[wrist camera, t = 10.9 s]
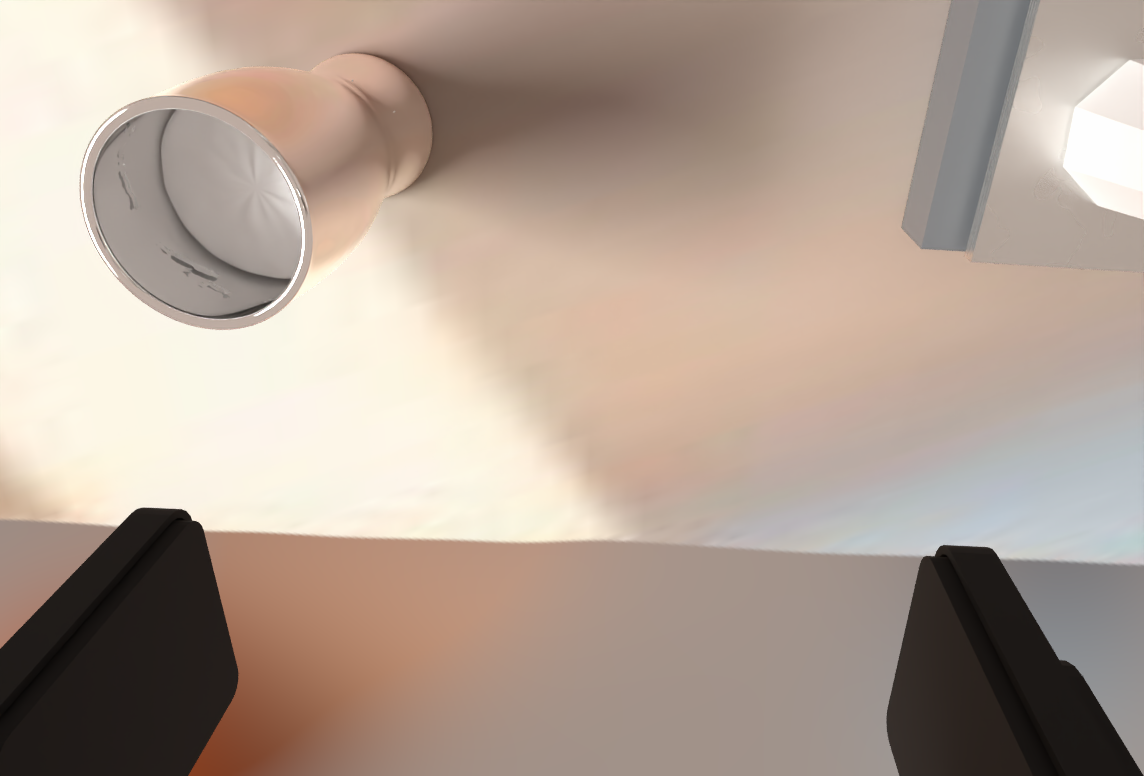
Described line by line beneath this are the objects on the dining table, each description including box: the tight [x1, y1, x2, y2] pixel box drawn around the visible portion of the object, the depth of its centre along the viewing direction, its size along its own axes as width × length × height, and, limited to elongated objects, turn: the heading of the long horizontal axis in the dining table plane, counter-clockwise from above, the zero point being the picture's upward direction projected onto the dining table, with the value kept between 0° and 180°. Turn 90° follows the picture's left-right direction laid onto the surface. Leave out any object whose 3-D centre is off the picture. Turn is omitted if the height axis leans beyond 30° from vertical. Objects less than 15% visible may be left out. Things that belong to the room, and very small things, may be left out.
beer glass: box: [80, 53, 432, 330], centre depth 30 cm, size 7×7×15 cm
